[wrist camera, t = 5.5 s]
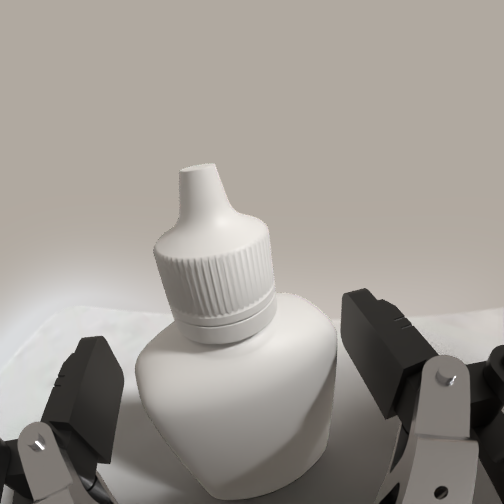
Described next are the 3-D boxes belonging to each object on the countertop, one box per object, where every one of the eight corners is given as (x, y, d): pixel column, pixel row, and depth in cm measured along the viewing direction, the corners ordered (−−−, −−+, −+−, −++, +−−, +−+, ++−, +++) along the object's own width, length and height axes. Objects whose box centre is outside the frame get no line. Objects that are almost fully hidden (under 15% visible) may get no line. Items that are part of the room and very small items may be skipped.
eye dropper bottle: (208, 423, 13) (122, 171, 8) (323, 418, 12) (323, 142, 7) (194, 499, 9) (18, 227, 4) (331, 498, 8) (385, 172, 3)
